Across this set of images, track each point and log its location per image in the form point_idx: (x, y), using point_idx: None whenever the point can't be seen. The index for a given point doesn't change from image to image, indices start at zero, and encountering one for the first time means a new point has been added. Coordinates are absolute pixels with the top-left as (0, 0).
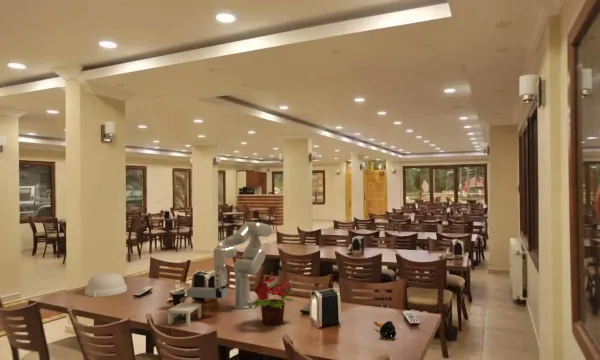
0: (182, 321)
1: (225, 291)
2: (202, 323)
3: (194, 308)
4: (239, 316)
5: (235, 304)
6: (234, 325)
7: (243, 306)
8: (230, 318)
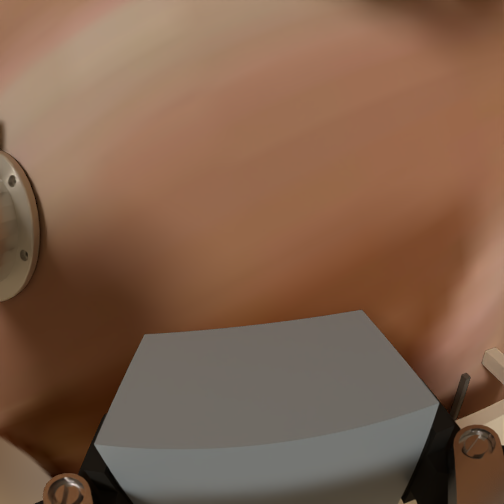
0: (459, 408)
1: (191, 399)
2: (469, 298)
3: (487, 418)
4: (235, 86)
5: (4, 276)
6: (455, 53)
7: (6, 189)
8: (321, 140)
